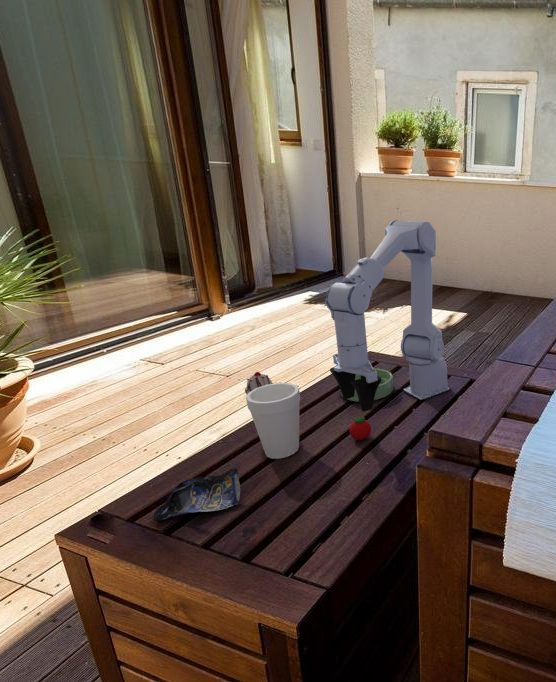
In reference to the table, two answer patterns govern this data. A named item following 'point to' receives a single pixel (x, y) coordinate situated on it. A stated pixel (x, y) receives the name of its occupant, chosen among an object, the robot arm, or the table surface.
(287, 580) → the table surface
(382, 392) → the bowl
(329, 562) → the table surface
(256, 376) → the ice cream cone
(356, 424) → the tomato
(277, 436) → the foam cup
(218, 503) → the snack package
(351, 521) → the table surface
